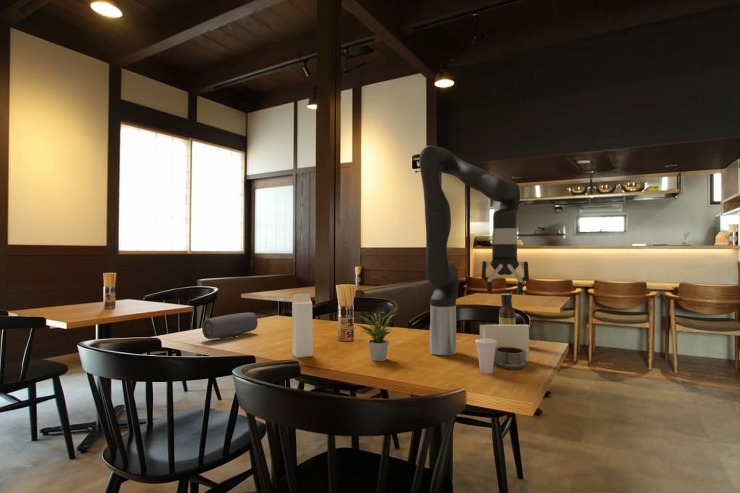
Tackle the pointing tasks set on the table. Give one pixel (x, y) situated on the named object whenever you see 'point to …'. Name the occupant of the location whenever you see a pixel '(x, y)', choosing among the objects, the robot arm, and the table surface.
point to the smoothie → (486, 353)
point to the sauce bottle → (507, 311)
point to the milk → (302, 326)
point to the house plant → (377, 338)
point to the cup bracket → (510, 358)
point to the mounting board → (508, 336)
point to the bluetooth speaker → (229, 325)
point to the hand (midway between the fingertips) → (504, 294)
